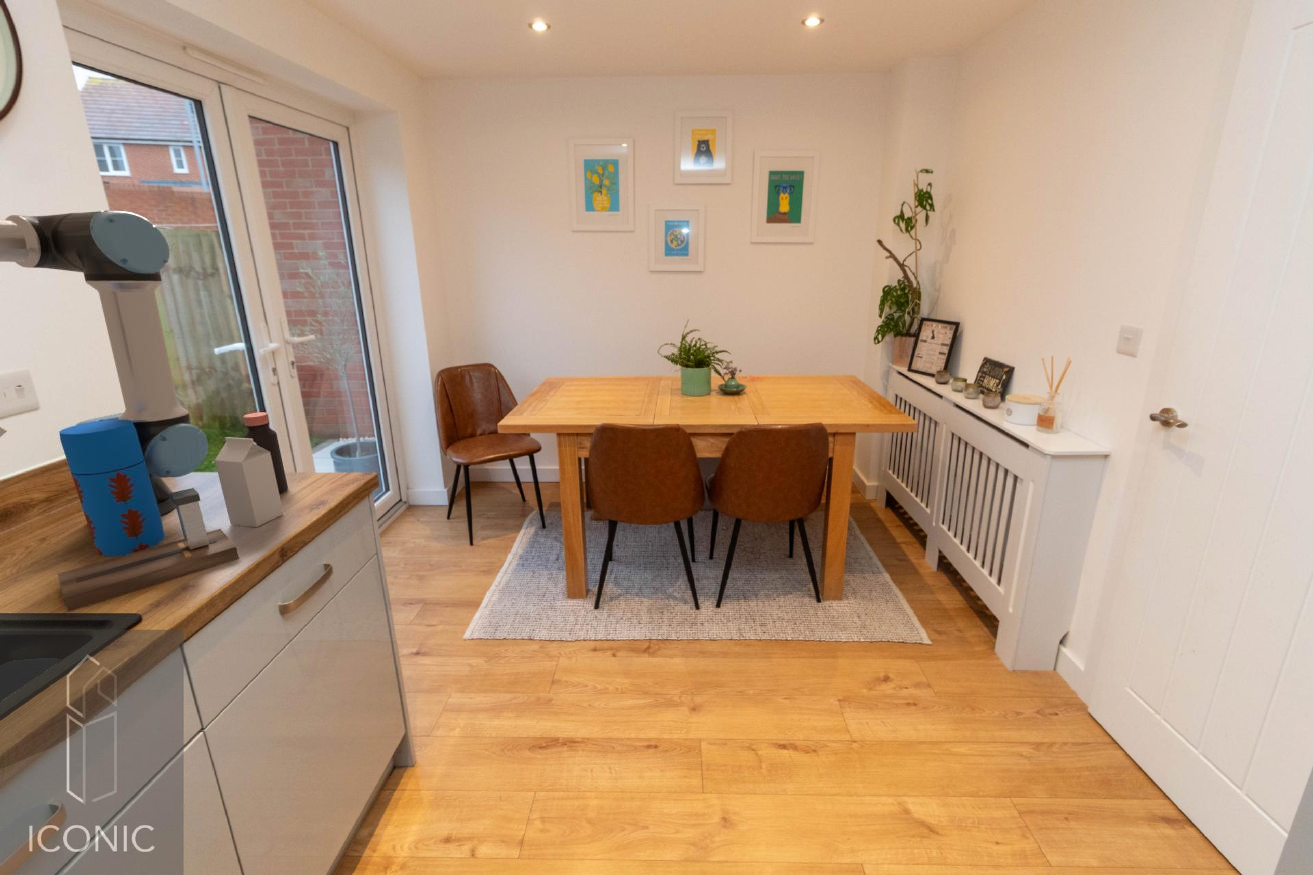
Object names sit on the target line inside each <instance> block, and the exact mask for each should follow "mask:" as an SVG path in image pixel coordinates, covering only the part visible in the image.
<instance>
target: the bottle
mask: <svg viewBox="0 0 1313 875" xmlns="http://www.w3.org/2000/svg"><path fill="white" fill-rule="evenodd" d="M243 421H244V425H245V428H247V432H246V433H245V434H244V436H243V437H242V438H247V439H253V442H255V443H256V445H257V446H259V447H261V448H263V449H265V450H267V451H269V452H270V454H271V459H272V463H273V468H274V472H275V477H276V481H277V486H278V491H279V495H282V494H284V493H286V492H288V490H289V485H288V481H287V477H286V476H287V475H286V471H285V466H284V462H283V457H282V452H281V448H280V443H279V438H278V435H277V434H278V433H277V432H276V431H275V430H273V429H272V428H270V417H269V413H268V412H261V411H260V412H253V413H252V412H251V413H247V414H245V415H243Z"/></svg>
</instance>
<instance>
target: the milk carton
mask: <svg viewBox="0 0 1313 875" xmlns="http://www.w3.org/2000/svg"><path fill="white" fill-rule="evenodd" d="M224 438H225V443H224V445H223V447H222V448H221V449H220V451H219V453H218V455H217V456H216V457H215V459H214V463H215V468H216V471H217V475H218V478H219V482H220V486H221V487H220V488H221V491H222V494H223V499H224V503H225V507H226V511H227V515H228V519H229V523H230V525H233V526H242V527H249V528H250V527H252V528H258V527H260V526H263V525H265V524H266V523H267V522H270V521H272V520H275V519H276V518H278V517H279V516H283V515H284V510H283V506H282V500H281V496H280V495H281V494H280V495H279V491H278V486H277V481H276V477H275V472H274V468H273V463H272V459H271V454H270V452H269V451H267V450H265V449H263V448H261V447H259V446H257V445H256V443H255V442H253V439H247V438H243V437H233V436H232V437H229V436H228V437H227V436H225V437H224Z"/></svg>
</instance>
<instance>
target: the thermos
mask: <svg viewBox="0 0 1313 875" xmlns="http://www.w3.org/2000/svg"><path fill="white" fill-rule="evenodd" d="M75 425H76V424H75ZM75 425H71V426H69V427H68V426H67V427H65V428H62V429H61V430H60V431H58V432H59V439H60V440H59V442H60V443H61V446H62V449H63V453H64V456H65V458H66V463H67V465H68V467H69V468H68V469H69V471H70V474H71V475H70V476H71V478H72V481H73V483H74V487H75V490H76V492H77V496H78V499H79V502H80V505H81V508H82V512H83V516H84V518H85V520H86V524H87V527H88V529H89V533H90V536H91V538H92V540H93V543H94V545H95V547H96V550H97V553H98V555H100V556H103V557H120V556H124V555H127V554H131V553H134V552H138V551H142V550H145V549H149V548H152V547H155V546H156V545H158V544H159V543H161V542H163V541H164V539H165V537H166V535H165V530H164V524H163V521H162V515H160V512H159V509H158V505H157V502H156V498H155V495H154V491H153V488H152V484H151V481H150V477H149V474H148V470H147V467H146V463H145V460H144V456H143V452H142V449H141V445H140V442H139V438H138V435H137V431H136V429H135V427H134V424H133V422H132V421H131V420H105V421H97V422H91V423H85V424H80V425H76V426H75Z"/></svg>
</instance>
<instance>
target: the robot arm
mask: <svg viewBox="0 0 1313 875" xmlns="http://www.w3.org/2000/svg"><path fill="white" fill-rule="evenodd" d="M169 247H170V246H169V243H168V241H167V239H166V237H165V235H164V234H163V233H162V231H161V230H160V229H159V228H158V227H157V226H156V225H155V224H153V223H152V222H151V221H150V220H149V219H147V218H145V217H144V216H141V215H139V214H137V213H134V212H131V211H130V212H129V211H120V210H115V209H114V210H105V209H104V210H100V211H99V210H98V211H87V212H86V211H85V212H70V213H69V212H68V213H61V214H51V215H50V214H49V215H20V214H19V215H15V214H12V215H9V216H7V217H5V218H4V219H0V262H2V263H3V262H4V263H5V262H7V263H8V262H9V263H15V264H17V265H18V266H20V267H23V268H29V269H30V268H32V269H33V268H35V269H36V268H37V269H50V270H51V269H52V270H58V271H59V270H61V271H69V272H76V273H83V277H84V281H85V284H87V285H89V286H90V287H92V288H93V289H94V290H96V291H97V293H98V294H99V295H98V296H99V300H100V303H101V309H102V313H103V316H104V321H105V325H106V331H107V334H108V337H109V339H108V340H109V344H110V347H111V351H112V356H113V359H114V364H115V369H116V373H117V377H118V381H119V386H120V389H121V395H122V398H123V404H124V408H125V410H124V412H122V413H121V412H120V413H114V414H109V415H103V416H98V417H93V418H90V419H86V420H83V421H80V422H78V423H76V424H75V425H74V426H76V425H80V424H85V423H91V422H97V421H105V420H131V421H132V422H133V424H134V427H135V429H136V431H137V435H138V438H139V442H140V445H141V449H142V452H143V456H144V460H145V463H146V467H147V470H148V474H149V477H150V481H151V484H152V488H153V491H154V495H155V498H156V502H157V505H158V509H159V512H160V516H162V515H165V514H167V513H169V512H170V511H173V510H174V509H176V506H175V504H174V502H173V501H172V500H171V496H170V493H173V491H172V489H171V487H169V485H168V484H167V483H166V482H165V481H164V479H165V478H166V479H167V478H180V477H183V476H187V475H189V474H191V473H193V472H195V471H196V470H197V469H198V468H199V467H200V466H201V463H202V462H203V461H205V459H206V457H207V453H208V449H209V443H208V438H207V436H206V434H205V432H203V430H201V429H199V427H198V426H196V425H193V424H192V422H191V417H190V412H189V410H188V409H186V408H184V407H182V406H181V405H180V404H179V402H178V397H177V392H176V388H175V387H176V386H175V383H174V377H173V374H172V369H171V368H172V367H171V364H170V359H169V355H168V354H169V353H168V348H167V345H166V340H165V339H166V338H165V335H164V331H163V325H162V321H161V320H162V319H161V317H160V316H161V315H160V311H159V306H158V302H157V297H156V292H155V291H156V289H158V288H159V287H160V286H161V285H162V283H163V281H162V275H161V270H163V269H164V268H165V267H166V263H168V262H169V259H170V248H169ZM7 432H8V431H7V430H6V429H4V428H3V427H1V426H0V438H1V437H3V436H4V435H5V434H6V433H7Z"/></svg>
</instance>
